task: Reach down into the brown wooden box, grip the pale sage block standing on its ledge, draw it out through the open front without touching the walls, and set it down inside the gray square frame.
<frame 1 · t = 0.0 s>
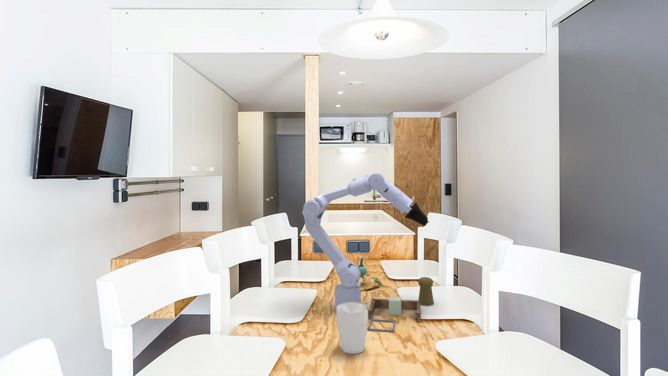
hand: (426, 222, 131), 32 cm above the table, tool tilted 50°, fingers open, 7 cm apart
cup: (352, 349, 107), on the table
brown wooden box: (395, 318, 128), on the table
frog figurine: (364, 289, 163), on the table
cork: (426, 307, 138), on the table
sage block: (395, 312, 129), point 1 cm above the table, touching brown wooden box
gray square frame: (382, 330, 118), on the table
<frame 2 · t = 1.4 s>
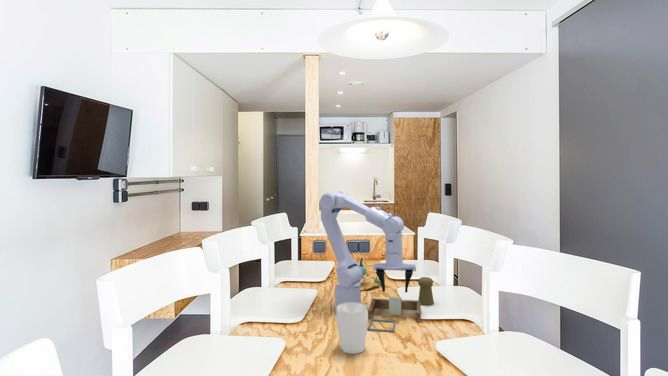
hand: (395, 291, 129), 9 cm above the table, tool pointing down, fingers open, 7 cm apart
nothing on the table moved.
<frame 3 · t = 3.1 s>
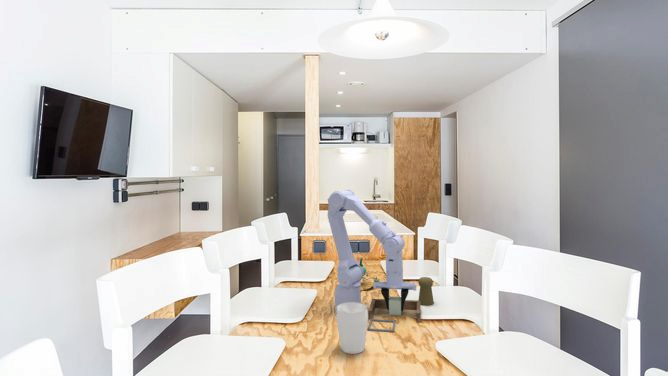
hand: (395, 309, 129), 3 cm above the table, tool pointing down, fingers closed on sage block, 4 cm apart
sage block: (395, 312, 129), point 1 cm above the table, touching gripper, brown wooden box
everything else where it was.
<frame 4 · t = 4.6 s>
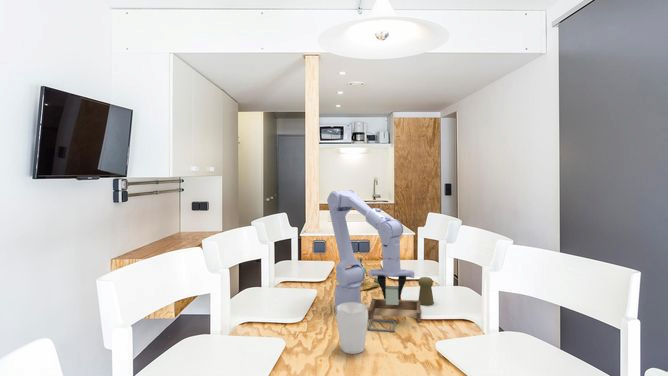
hand: (392, 298, 122), 9 cm above the table, tool pointing down, fingers closed on sage block, 4 cm apart
sage block: (392, 302, 123), point 7 cm above the table, touching gripper
everything else where it was.
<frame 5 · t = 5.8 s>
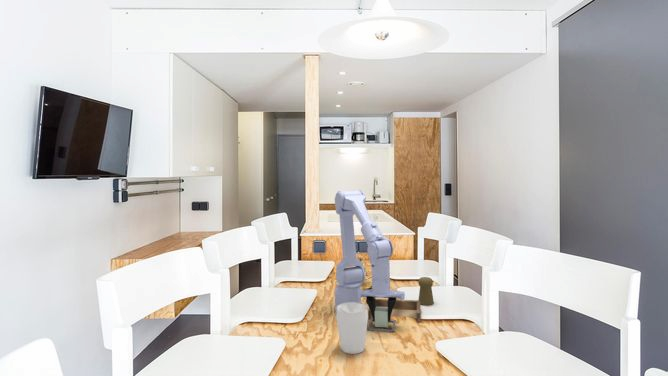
hand: (381, 320, 118), 3 cm above the table, tool pointing down, fingers closed on sage block, 4 cm apart
sage block: (382, 324, 118), point 2 cm above the table, touching gripper
everything else where it was.
when the fingers open (3 cm above the table, at t = 6.6 s): sage block drops 1 cm, resting on gray square frame.
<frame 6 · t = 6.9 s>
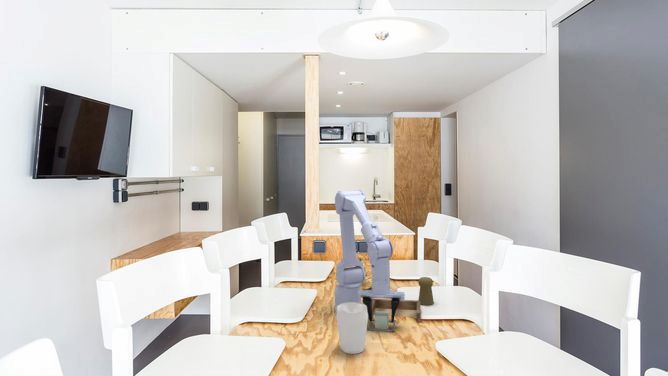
hand: (381, 320, 118), 3 cm above the table, tool pointing down, fingers open, 6 cm apart
sage block: (382, 329, 118), resting on gray square frame
everything else where it was.
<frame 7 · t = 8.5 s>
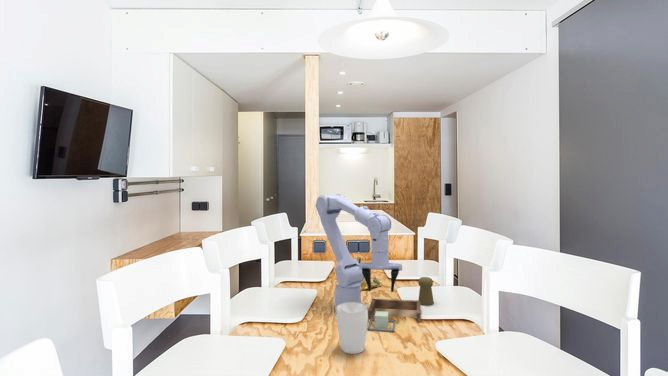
hand: (381, 290, 127), 10 cm above the table, tool pointing down, fingers open, 7 cm apart
nothing on the table moved.
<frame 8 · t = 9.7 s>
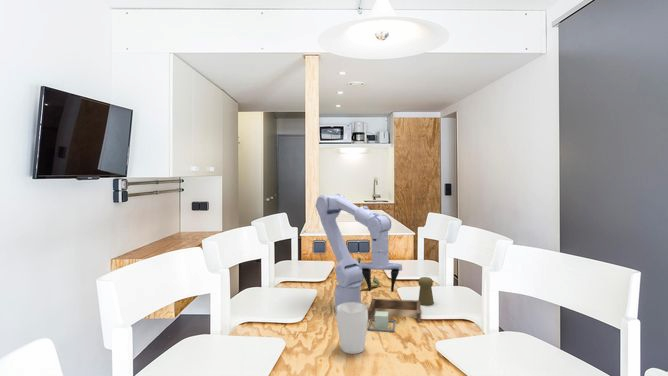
hand: (381, 290, 127), 10 cm above the table, tool pointing down, fingers open, 7 cm apart
nothing on the table moved.
at the end: sage block 0.2 cm off-centre on the gray square frame, point 0.4 cm above the gray square frame's base; sage block tilted 0°; the gripper is holding nothing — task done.
